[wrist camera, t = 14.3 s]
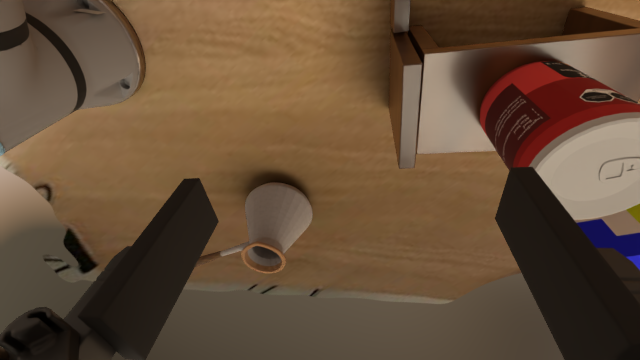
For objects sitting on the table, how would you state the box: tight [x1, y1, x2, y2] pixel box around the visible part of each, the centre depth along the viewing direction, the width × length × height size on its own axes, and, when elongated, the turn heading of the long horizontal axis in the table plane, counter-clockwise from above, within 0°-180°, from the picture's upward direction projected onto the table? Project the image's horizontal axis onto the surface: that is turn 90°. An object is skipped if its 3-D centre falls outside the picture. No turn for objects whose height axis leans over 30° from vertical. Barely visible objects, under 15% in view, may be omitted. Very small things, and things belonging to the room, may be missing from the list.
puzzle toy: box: [575, 203, 640, 270], centre depth 44 cm, size 10×10×10 cm
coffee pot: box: [195, 182, 313, 273], centre depth 48 cm, size 21×12×15 cm, turn 100°
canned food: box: [480, 61, 640, 220], centre depth 23 cm, size 8×8×11 cm
